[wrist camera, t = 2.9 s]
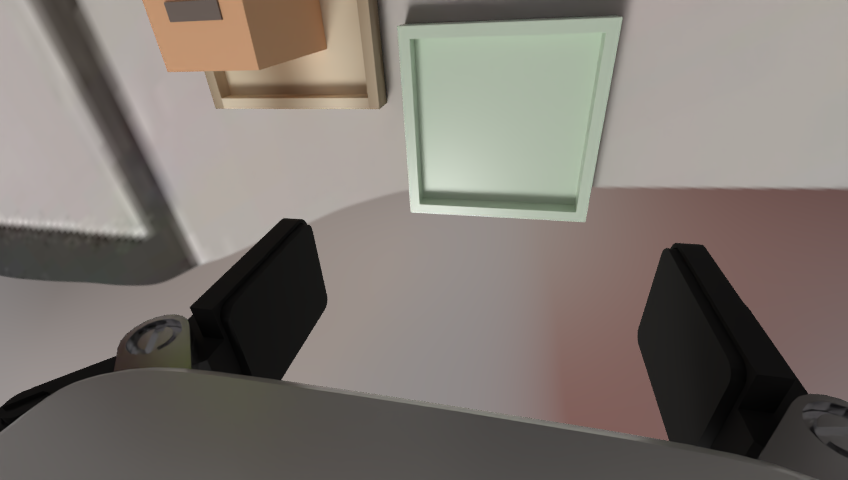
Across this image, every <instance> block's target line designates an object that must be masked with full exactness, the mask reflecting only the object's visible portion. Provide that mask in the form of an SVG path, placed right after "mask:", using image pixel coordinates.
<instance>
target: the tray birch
mask: <svg viewBox="0 0 848 480" xmlns="http://www.w3.org/2000/svg"><path fill="white" fill-rule="evenodd" d="M319 1H320V7H321V13H322V20H323V26H324V32H325V39H326V45H327V49H326V50H322V51H319V52H316V53H313V54H310V55H306V56H303V57H300V58H297V59H293V60H290V61H287V62H284V63H281V64H277V65H274V66H271V67H268V68H265V69H261V70H244V71H204V72H205V75H206V78H207V82H208V85H209V88H210V91H211V94H212V98H213V101H214V104H215V107H216V109H380V108H381V107H382V106H384V105H385V104H386V103H387V99H386V88H385V77H384V67H383V56H382V45H381V35H380V24H379V13H378V3H377V0H319Z"/></svg>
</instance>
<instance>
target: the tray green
mask: <svg viewBox="0 0 848 480" xmlns="http://www.w3.org/2000/svg"><path fill="white" fill-rule="evenodd" d="M622 19H623V17H620V16H617V15H612V16H587V17H563V18H539V19H515V20H491V21H466V22H442V23H418V24H403V25H400V26H397V31H398V44H399V58H400V72H401V85H402V99H403V112H404V126H405V139H406V153H407V167H408V180H409V194H410V207H411V212H414V213H432V214H433V213H434V214H450V215H469V216H486V217H503V218H522V219H539V220H557V221H576V222H585V221H586V215H587V210H588V204H589V199H590V194H591V188H592V183H593V177H594V172H595V166H596V161H597V155H598V150H599V144H600V139H601V133H602V128H603V123H604V117H605V112H606V106H607V101H608V95H609V90H610V84H611V79H612V73H613V68H614V62H615V57H616V52H617V46H618V41H619V35H620V30H621V24H622Z"/></svg>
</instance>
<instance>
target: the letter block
mask: <svg viewBox="0 0 848 480" xmlns="http://www.w3.org/2000/svg"><path fill="white" fill-rule="evenodd" d="M142 1H143V3H144V6H145V9H146V12H147V15H148V18H149V20H150V23H151V26H152V29H153V32H154V34H155V37H156V40H157V43H158V46H159V49H160V51H161V54H162V57H163V60H164V63H165V65H166V68H167V71H168V72H191V71H244V70H261V69H265V68H268V67H271V66H274V65H277V64H281V63H284V62H287V61H290V60H293V59H297V58H300V57H303V56H306V55H310V54H313V53H316V52H319V51H322V50H326V49H327V45H326V39H325V32H324V26H323V20H322V13H321V7H320V1H319V0H142Z"/></svg>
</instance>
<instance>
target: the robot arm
mask: <svg viewBox="0 0 848 480" xmlns="http://www.w3.org/2000/svg"><path fill="white" fill-rule="evenodd" d="M326 305H327V294H326V289H325V285H324V280H323V276H322V271H321V267H320V262H319V258H318V253H317V249H316V244H315V240H314V235H313V231H312V228H311V226H310V225H307V223H306V222H305V221H304V220H303V219H288V218H284V219H282V220H281V221H280V222H279V223H278V224H276V225H275V226H274V227H273V228H272V229H271V230H270V231H269V232H268V233H267V234H266V235H265V236H264V237H263V238H262V239H261V240H260V241H259V242H258V243H257V244H256V245H254V246H253V247H252V248H251V249H250V250H249V251H248V252H247V253H246V254H245V255H244V256H243V257H242V258H241V259H240V260H239V261H238V262H237V263H236V264H235V265H233V266H232V268H231V269H229V270H228V271H227V272H226V273H225V274H224V275H223V276H222V277H221V278H220V279H219V280H218V281H217V282H216V283H215V284H214V285H213V286H211V288H209V289H208V290H207V291H206V292H205V293H204V294H203V295H202V296H201V297H200V298H199V299H198V300H197V301H196V302H195V303H194V304H193V305H192V306H191V307H190V309H191V311H192V313H193V315H192V316H191V317H190V318H189V319H188V320H187V319H186V318H185V317H183V316H180V315H164V316H159V317H155V318H153V319H150V320H148V321H145V322H143V323H142V324H140V325H138V326H136V327H135V328H133V329H132V330H131V331H130V332H128V333H127V334H126V335H125V336H124V338H123V339H122V340H121V341H120V344H119V346H118V349H117V355H116V356H115V357H112V358H110V359H107V360H104V361H102V362H99V363H96V364H94V365H91V366H89V367H86V368H84V369H81V370H78V371H75V372H73V373H70V374H68V375H65V376H62V377H60V378H57V379H54V380H52V381H49V382H47V383H44V384H41V385H39V386H36V387H33V388H31V389H29V390H26V391H23V392H21V393H19V394H17V395H16V396H14V397H12V398H11V399H10V400H8V401H7V402H6V403H5V404H4V405H3V406H1V407H0V480H848V402H846V401H844V400H841V399H838V398H834V397H830V396H827V395H819V394H808V393H807V391H806V390H805V389H804V387H803V386H802V384H801V383H800V381H799V380H798V378H797V377H796V376H795V374H794V373H793V371H792V370H791V369H790V367H789V366H788V364H787V363H786V361H785V360H784V358H783V357H782V356H781V354H780V353H779V351H778V350H777V348H776V347H775V346H774V344H773V343H772V341H771V340H770V338H769V337H768V335H767V334H766V333H765V331H764V330H763V328H762V327H761V326H760V324H759V322H758V321H757V320H756V318H755V317H754V315H753V314H752V312H751V311H750V310H749V308H748V307H747V306H746V305H745V304H744V303H743V301H742V300H741V299H740V297H739V296H738V294H737V293H736V291H735V290H734V288H733V287H732V286H731V284H730V283H729V281H728V280H727V278H726V277H725V275H724V274H723V273H722V271H721V270H720V268H719V267H718V265H717V264H716V263H715V261H714V260H713V258H712V257H711V255H710V254H709V252H708V251H707V249H706V248H705V247H704V246H703V245H699V244H681V243H675V244H673V246H672V247H671V249H669V248H666V249H664V250H663V252H662V255H661V258H660V261H659V265H658V267H657V271H656V274H655V277H654V280H653V283H652V287H651V290H650V293H649V296H648V300H647V303H646V306H645V309H644V312H643V316H642V319H641V322H640V326H639V329H638V344H639V347H640V350H641V353H642V357H643V360H644V363H645V366H646V369H647V372H648V375H649V379H650V381H651V385H652V387H653V391H654V394H655V397H656V401H657V404H658V407H659V410H660V413H661V416H662V419H663V423H664V425H665V428H666V432H667V435H668V438H669V441H666V440H660V439H654V438H648V437H642V436H637V435H631V434H625V433H619V432H613V431H608V430H601V429H595V428H588V427H583V426H576V425H570V424H564V423H557V422H551V421H545V420H539V419H532V418H526V417H519V416H513V415H507V414H501V413H494V412H488V411H482V410H475V409H469V408H462V407H455V406H449V405H442V404H436V403H429V402H423V401H416V400H410V399H403V398H397V397H390V396H383V395H377V394H370V393H364V392H357V391H350V390H343V389H337V388H329V387H323V386H316V385H309V384H302V383H295V382H289V381H282V380H281V379H282V377H283V376H284V374H285V373H286V371H287V369H288V368H289V366H290V365H291V363H292V361H293V360H294V358H295V357H296V355H297V353H298V352H299V350H300V349H301V347H302V345H303V344H304V342H305V341H306V339H307V337H308V336H309V334H310V332H311V331H312V329H313V327H314V326H315V324H316V323H317V321H318V320H319V318H320V316H321V315H322V313H323V311H324V310H325V308H326Z"/></svg>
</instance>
